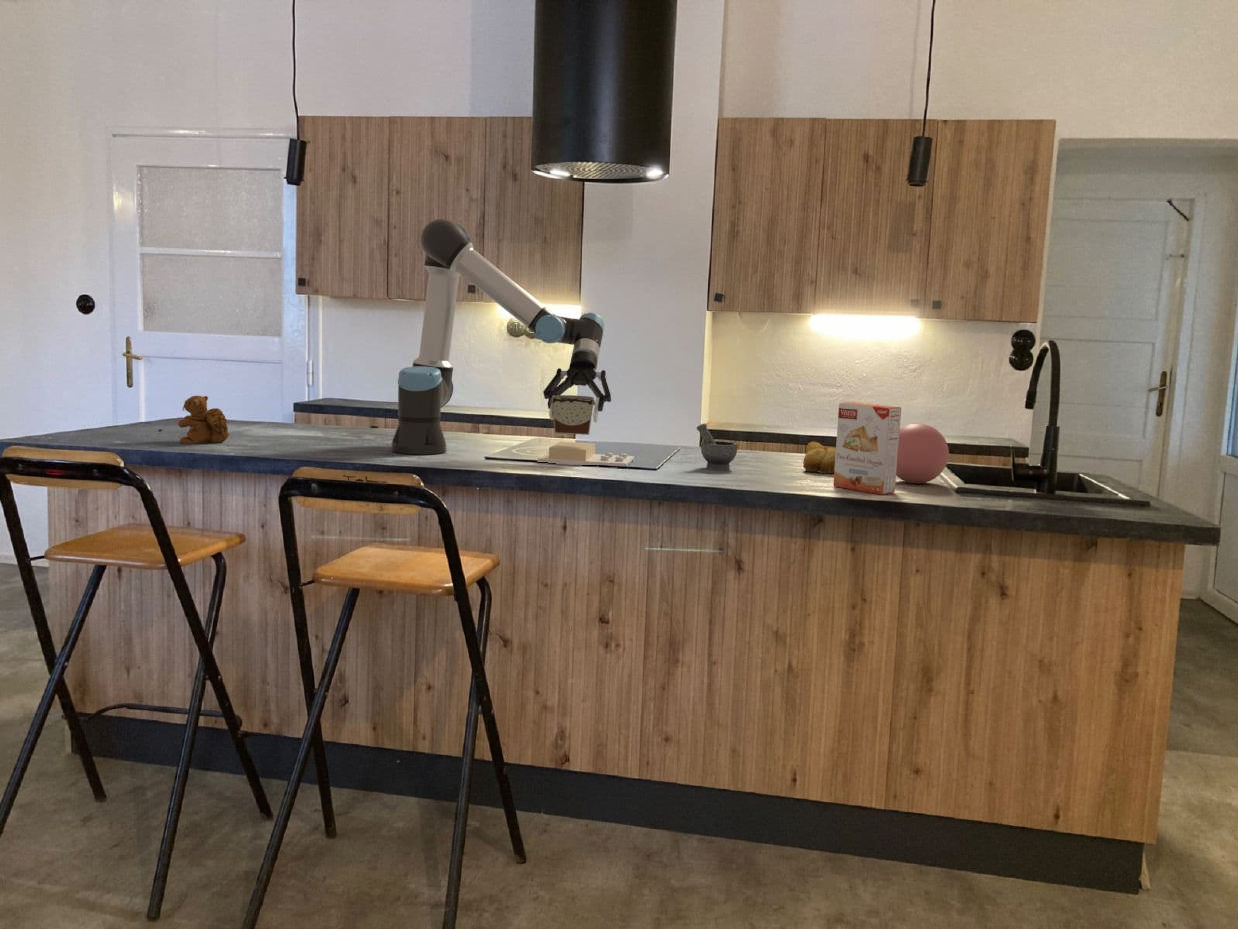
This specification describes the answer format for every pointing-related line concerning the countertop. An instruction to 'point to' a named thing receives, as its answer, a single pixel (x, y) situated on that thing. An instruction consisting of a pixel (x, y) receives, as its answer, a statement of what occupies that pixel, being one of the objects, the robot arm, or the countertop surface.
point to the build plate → (589, 462)
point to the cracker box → (867, 447)
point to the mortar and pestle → (716, 450)
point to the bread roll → (819, 458)
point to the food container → (572, 414)
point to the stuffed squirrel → (203, 422)
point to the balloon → (921, 453)
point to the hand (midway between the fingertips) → (572, 417)
